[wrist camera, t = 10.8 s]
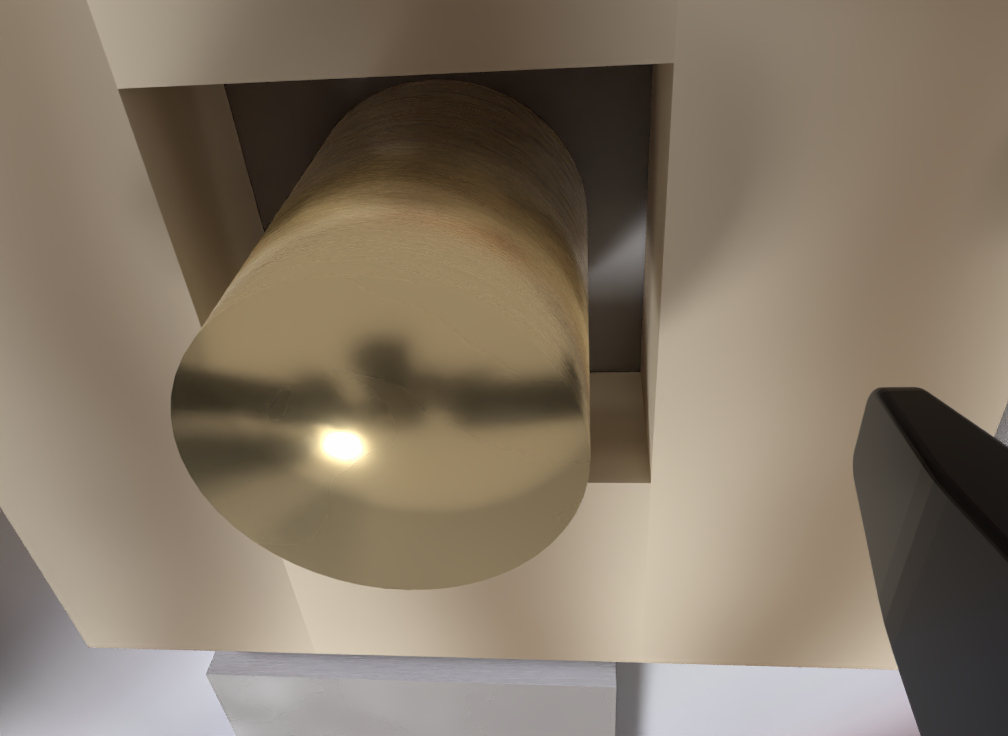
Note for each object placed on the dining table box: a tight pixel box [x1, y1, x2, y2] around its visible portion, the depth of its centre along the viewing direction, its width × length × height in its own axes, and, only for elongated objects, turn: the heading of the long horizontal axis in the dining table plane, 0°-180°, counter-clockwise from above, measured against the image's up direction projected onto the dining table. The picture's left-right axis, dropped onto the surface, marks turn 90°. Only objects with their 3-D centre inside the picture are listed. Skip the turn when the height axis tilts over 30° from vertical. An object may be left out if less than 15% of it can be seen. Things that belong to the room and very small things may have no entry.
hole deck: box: [0, 0, 1008, 670], centre depth 11 cm, size 14×14×3 cm
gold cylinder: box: [171, 79, 591, 590], centre depth 10 cm, size 4×4×5 cm
